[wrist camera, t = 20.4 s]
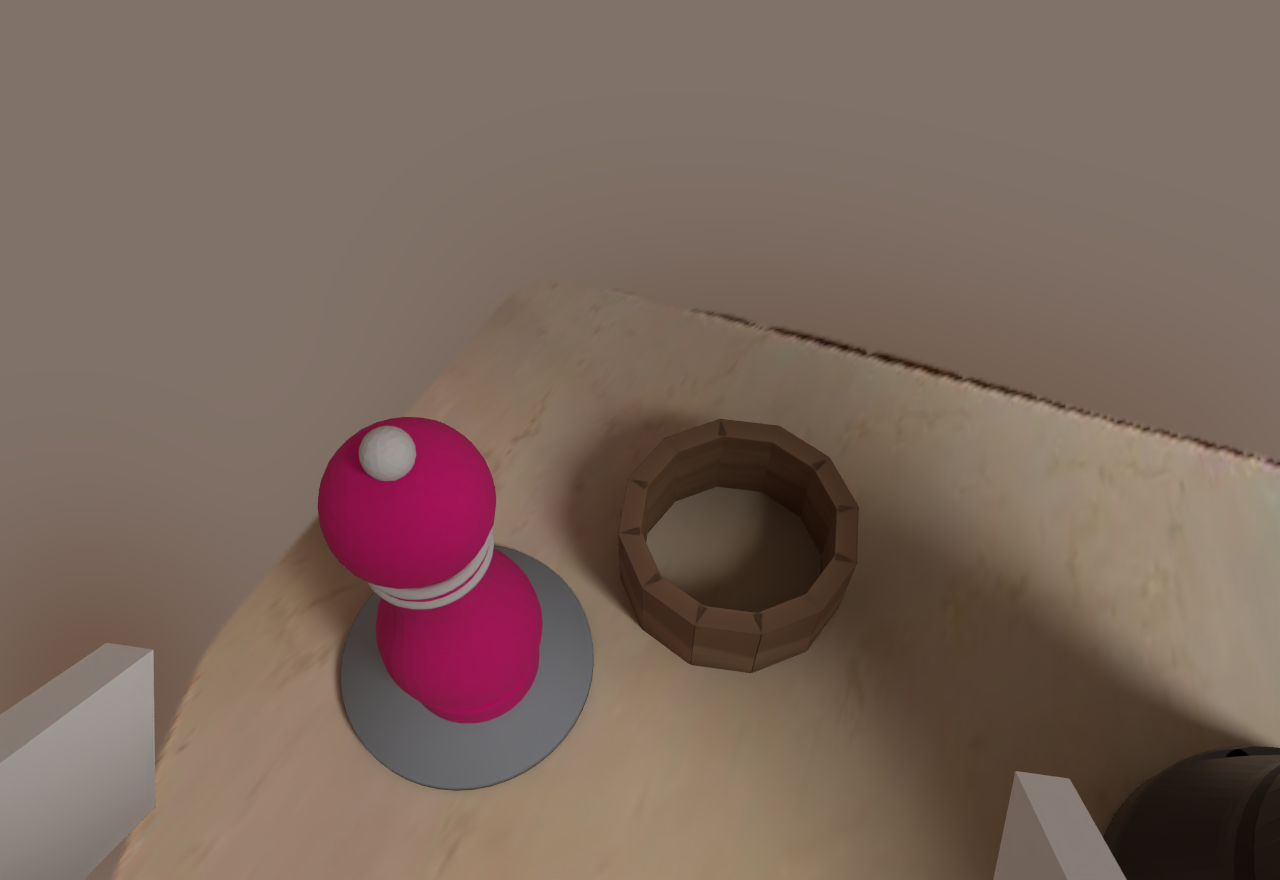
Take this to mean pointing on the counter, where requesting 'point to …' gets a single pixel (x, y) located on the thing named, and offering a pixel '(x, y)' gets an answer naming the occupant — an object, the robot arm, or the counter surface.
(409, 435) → the pepper mill
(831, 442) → the counter surface
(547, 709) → the coaster
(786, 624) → the brown wooden bowl
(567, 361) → the counter surface
